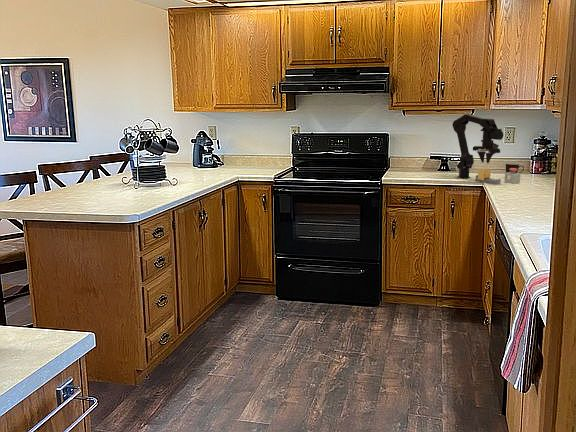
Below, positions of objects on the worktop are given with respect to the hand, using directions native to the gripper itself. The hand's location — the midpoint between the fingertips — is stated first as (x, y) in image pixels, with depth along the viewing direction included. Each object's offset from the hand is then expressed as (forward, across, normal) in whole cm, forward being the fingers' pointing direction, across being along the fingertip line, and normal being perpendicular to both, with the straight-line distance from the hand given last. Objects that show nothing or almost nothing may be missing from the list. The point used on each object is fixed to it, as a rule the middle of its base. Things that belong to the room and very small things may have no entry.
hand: (485, 162), depth 381 cm
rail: (+12, -4, 0) cm, 12 cm away
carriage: (+11, 0, 0) cm, 11 cm away
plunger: (+9, -11, -14) cm, 20 cm away
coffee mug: (+12, +2, -28) cm, 31 cm away
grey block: (+12, -10, -14) cm, 21 cm away
